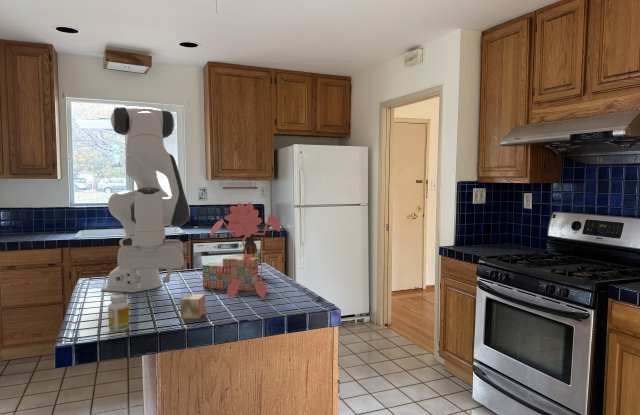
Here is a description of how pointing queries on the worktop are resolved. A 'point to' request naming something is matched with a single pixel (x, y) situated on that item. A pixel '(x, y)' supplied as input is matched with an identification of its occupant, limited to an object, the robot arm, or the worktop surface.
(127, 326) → the supplement bottle
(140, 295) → the worktop surface
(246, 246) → the sauce bottle
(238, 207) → the coral stemmed figure
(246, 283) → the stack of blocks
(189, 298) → the maple cube
